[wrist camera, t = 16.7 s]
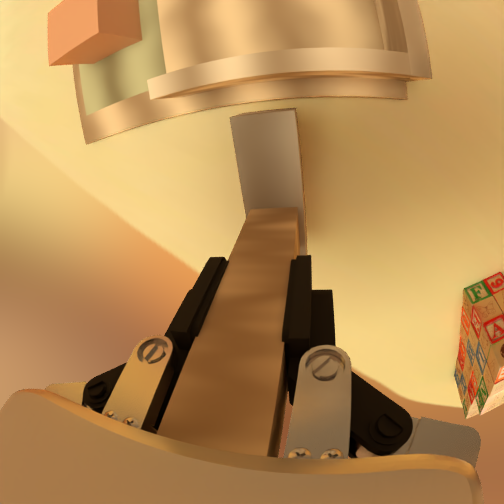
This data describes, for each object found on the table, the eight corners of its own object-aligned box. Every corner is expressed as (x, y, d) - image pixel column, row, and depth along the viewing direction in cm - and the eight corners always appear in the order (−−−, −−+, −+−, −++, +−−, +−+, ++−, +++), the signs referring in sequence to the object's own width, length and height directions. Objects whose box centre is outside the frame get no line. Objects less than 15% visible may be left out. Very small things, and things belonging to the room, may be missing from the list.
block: (137, -9, 13) (97, -24, 8) (142, 40, 16) (98, 32, 11) (90, 17, 15) (47, 13, 10) (93, 63, 18) (49, 66, 13)
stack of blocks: (482, 362, 30) (500, 420, 20) (453, 375, 33) (466, 435, 22) (500, 269, 22) (545, 343, 12) (462, 287, 24) (501, 370, 14)
